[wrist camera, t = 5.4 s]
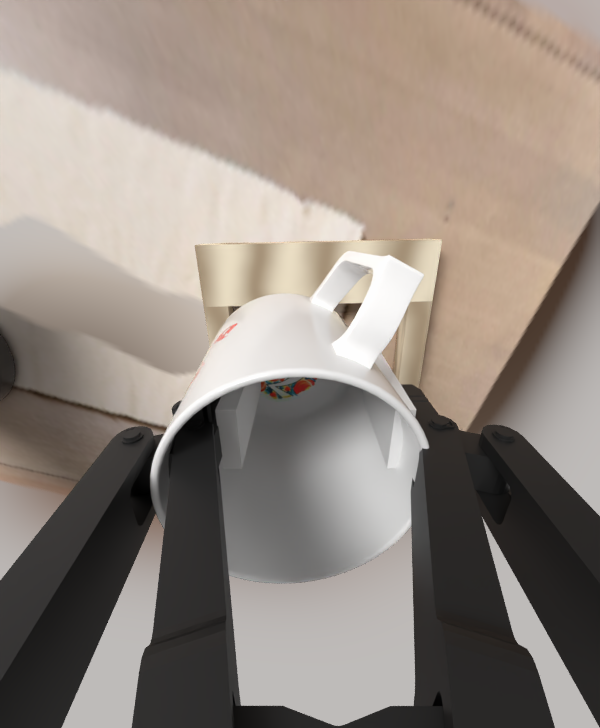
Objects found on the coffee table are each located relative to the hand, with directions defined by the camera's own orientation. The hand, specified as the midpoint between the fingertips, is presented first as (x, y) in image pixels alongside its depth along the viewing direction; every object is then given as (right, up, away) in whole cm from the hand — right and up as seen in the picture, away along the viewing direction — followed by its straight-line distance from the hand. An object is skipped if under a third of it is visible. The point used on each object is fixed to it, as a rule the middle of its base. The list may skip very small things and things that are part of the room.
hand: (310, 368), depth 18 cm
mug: (-1, +2, +2) cm, 3 cm away
